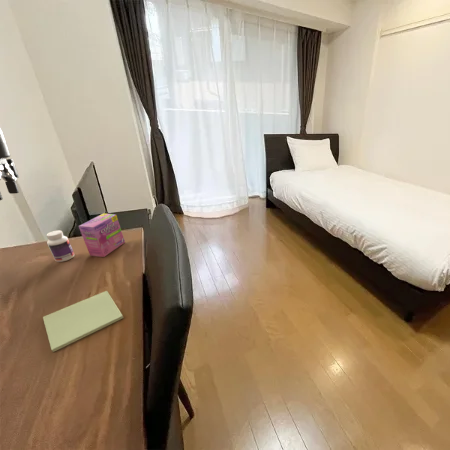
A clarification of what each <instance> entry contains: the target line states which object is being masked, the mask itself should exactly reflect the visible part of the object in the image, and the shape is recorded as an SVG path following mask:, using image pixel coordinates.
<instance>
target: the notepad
mask: <svg viewBox="0 0 450 450" xmlns="http://www.w3.org/2000/svg"><path fill="white" fill-rule="evenodd" d="M42 319H43V324H44V327H45V330H46V334H47V339H48V342H49V347H50V350H51V352H52V353H55V352H56V351H59V350H62V349H63V348H66V347H67V346H69V345H72V344H73V343H75V342H77V341H79V340H81V339H83V338H86V337H88V336H90V335H92V334H93V333H96V332H98V331H100V330H102V329H104V328H106V327H108V326H110V325H112V324H114V323H116V322H118V321H120V320H122V319H124V316H123V314H122V312H121V311H120V309H119V308H118V306H117V304H116V302H115V301H114V299H113V298H112V296H111V295H110V293H109V292H108V290H105V291H102V292H100V293H98V294H94V295H93V296H91V297H88V298H86V299H83V300H80V301H78V302H76V303H73V304H71V305H69V306H66V307H64V308H61V309H58V310H56V311H54V312H51V313H49V314H47V315H44V316H43V317H42Z"/></svg>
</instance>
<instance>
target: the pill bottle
mask: <svg viewBox="0 0 450 450" xmlns="http://www.w3.org/2000/svg"><path fill="white" fill-rule="evenodd" d="M46 238H47V241H46V245H47V247H48V249H49V251H50V253H51V255H52V257H53V259H54V261H55V262H58V263H61V262H67V261H69V260H71V259H73V258H74V257H75V256H76V255H75V252H74V250H73V247H72V245H71V243H70V240H69V238H68V236H66V235H64V233H63V231H62V230H53V231H50V232H48V233H47V234H46Z"/></svg>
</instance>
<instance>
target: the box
mask: <svg viewBox="0 0 450 450" xmlns="http://www.w3.org/2000/svg"><path fill="white" fill-rule="evenodd" d="M78 229H79V231H80V234H81V237H82V239H83V241H84V244H85V246H86V249H87V252H88V254H89V256H90V257H97V258H99V257H100V258H104V257H106V256H108V255H109V254H110V253H112V252H114V251H115V250H116V249H118V248H119V247H121V246H122V245H123V244H125V243H126V241H125V237H124V234H123V231H122V228H121V225H120V223H119V219H118V215H117V214H114V213H101V214H100V215H97V216H95V217H93V218H91V219H90V220H88V221H86V222H84V223H82V224H80V225H78Z"/></svg>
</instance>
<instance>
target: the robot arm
mask: <svg viewBox="0 0 450 450" xmlns="http://www.w3.org/2000/svg"><path fill="white" fill-rule="evenodd" d="M10 157H11V153H10V150H9V147H8V143H7V141H6V138H5V134H4V131H3V130H2V128H1V127H0V181H1V180H3V181H4V182H5V186H6V189H7V192H8V193H9V194H10V195H12V194H14V195H15V194H18V193H20V190H19V188H18V184H17V179H19V178H20V174H19V173H18V169H17V167H16V164H15V160H14V159H13V158H10ZM1 192H2V191H0V201H3V195H2V193H1Z"/></svg>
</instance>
